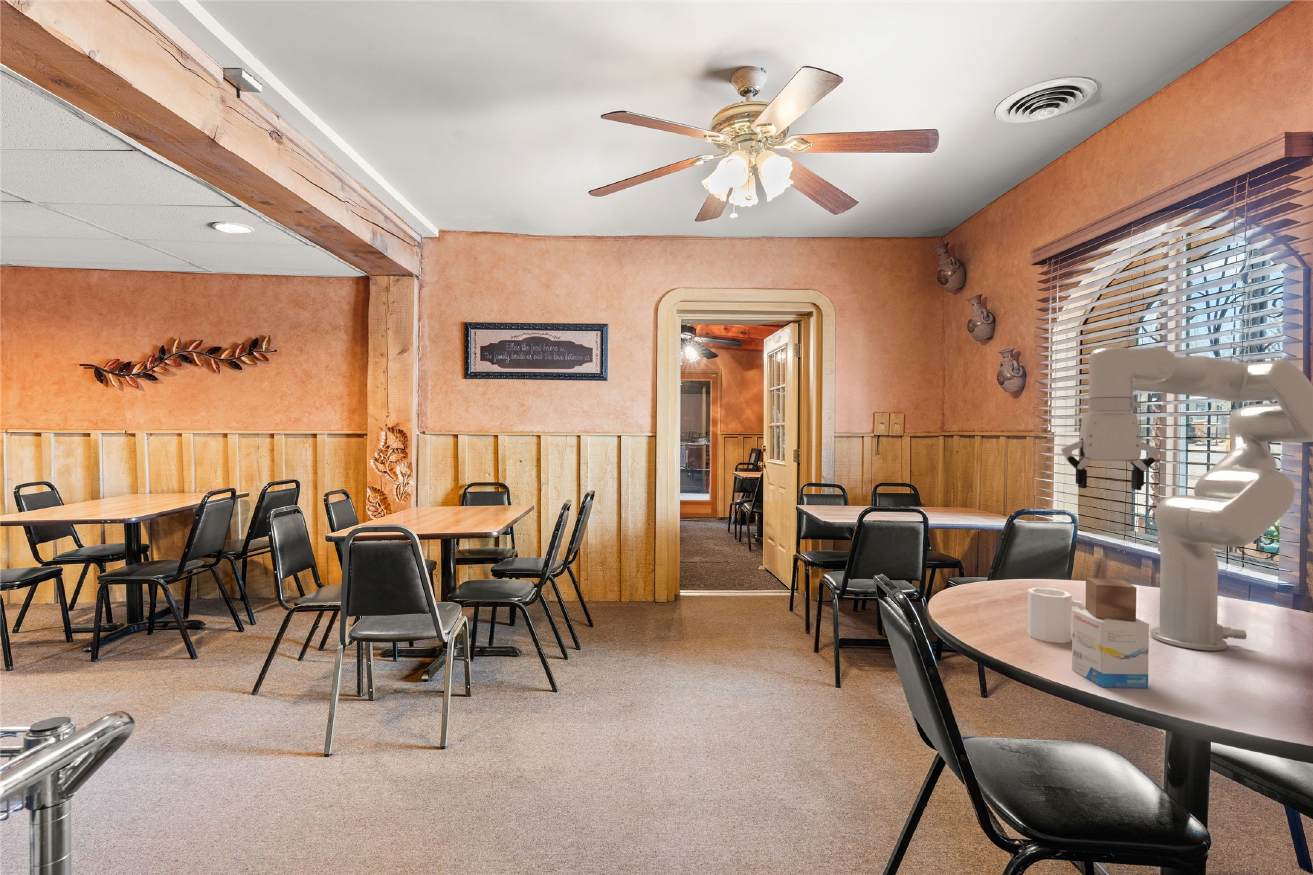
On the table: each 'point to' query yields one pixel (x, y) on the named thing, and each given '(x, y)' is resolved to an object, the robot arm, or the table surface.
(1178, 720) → the table surface
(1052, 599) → the mug
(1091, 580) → the walnut cube
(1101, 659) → the ink box
